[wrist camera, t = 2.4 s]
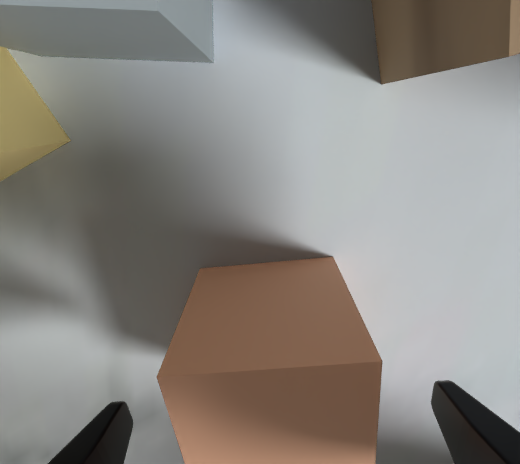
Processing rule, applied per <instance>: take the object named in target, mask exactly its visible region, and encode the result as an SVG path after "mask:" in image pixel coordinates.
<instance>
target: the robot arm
mask: <svg viewBox="0 0 520 464" xmlns="http://www.w3.org/2000/svg"><path fill="white" fill-rule="evenodd" d="M431 405H432V409H433V412H434V414H435V417H436V419H437V422H438V424H439V426H440V429H441V431H442V434H443V436H444V439H445V441H446V444H447V446H448V448H449V451H450V453H451V456H452V458H453V461H454V463H455V464H520V432H518V431H517V430H516V429H515V428H513V427H512V426H511V425H509V424H508V423H507V422H505V421H504V420H503V419H501V418H500V417H499V416H497V415H496V414H495V413H493V412H492V411H491V410H489V409H488V408H487V407H485V406H484V405H483V404H481V403H480V402H479V401H477V400H476V399H475V398H473V397H472V396H471V395H470V394H468V393H467V392H466V391H464V390H463V389H462V388H460V387H459V386H458V385H456V384H455V383H454V382H452V381H448V380H446V381H436V382H435V383H434V387H433V393H432V399H431ZM132 428H133V419H132V416H131V414H130V411H129V408H128V406H127V404H126V402H124V401H119V402H111V403H110V404H108V405H107V406H106V407H105V408H104V409H103V410H102V411H101V412H100V413H99V414H98V415H97V416H96V417H95V418H94V419H93V420H92V421H91V422H90V423H89V424H88V425H87V426H86V427H85V428H84V429H83V430H82V431H81V432H80V433H79V434H77V435H76V436H75V437H74V438H73V439H72V440H71V441H70V442H69V443H68V444H67V445H66V446H65V447H64V448H63V449H62V450H61V451H60V452H59V453H58V454H57V455H56V456H55V457H54V458H53V459H52V460H51V461H50V462H49V463H48V464H124V460H125V456H126V452H127V448H128V444H129V440H130V436H131V432H132Z"/></svg>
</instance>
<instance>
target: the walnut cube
mask: <svg viewBox="0 0 520 464" xmlns="http://www.w3.org/2000/svg"><path fill="white" fill-rule="evenodd" d="M371 2H372V10H373V19H374V27H375V36H376V44H377V53H378V61H379V70H380V78H381V84H385V83H390V82H395V81H399V80H404V79H408V78H413V77H418V76H422V75H427V74H431V73H436V72H441V71H445V70H450V69H454V68H459V67H464V66H468V65H473V64H477V63H482V62H487V61H491V60H496V59H500V58H505V57H509V56H513V55H516V54H519V53H520V0H371Z"/></svg>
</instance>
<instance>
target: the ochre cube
mask: <svg viewBox="0 0 520 464" xmlns="http://www.w3.org/2000/svg"><path fill="white" fill-rule="evenodd" d="M69 141H71V140H70V139H69V137H68V136H67V135H66V133H65V132H64V130H63V129H62V127H61V126H60V124H59V123H58V122H57V120H56V119H55V117H54V116H53V114H52V113H51V112H50V110H49V109H48V107H47V106H46V104H45V103H44V102H43V100H42V99H41V97H40V96H39V94H38V93H37V91H36V90H35V89H34V87H33V86H32V84H31V83H30V81H29V80H28V79H27V77H26V76H25V74H24V73H23V71H22V70H21V69H20V67H19V66H18V64H17V63H16V61H15V60H14V59H13V57H12V56H11V54H10V53H9V51H8V50H7V48H5V47H1V46H0V181H2V180H4V179H5V178H7V177H9V176H11V175H12V174H14V173H16V172H17V171H19V170H21V169H23V168H24V167H26V166H28V165H30V164H31V163H33V162H35V161H36V160H38V159H40V158H42V157H43V156H45V155H47V154H49V153H50V152H52V151H54V150H56V149H57V148H59V147H61V146H62V145H64V144H66V143H68V142H69Z"/></svg>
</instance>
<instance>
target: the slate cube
mask: <svg viewBox="0 0 520 464" xmlns="http://www.w3.org/2000/svg"><path fill="white" fill-rule="evenodd" d="M0 46H1V47H5V48H9V49H13V50H18V51H22V52H26V53H30V54H34V55H38V56H48V57H74V58H100V59H126V60H152V61H179V62H205V63H214V44H213V0H0Z"/></svg>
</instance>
